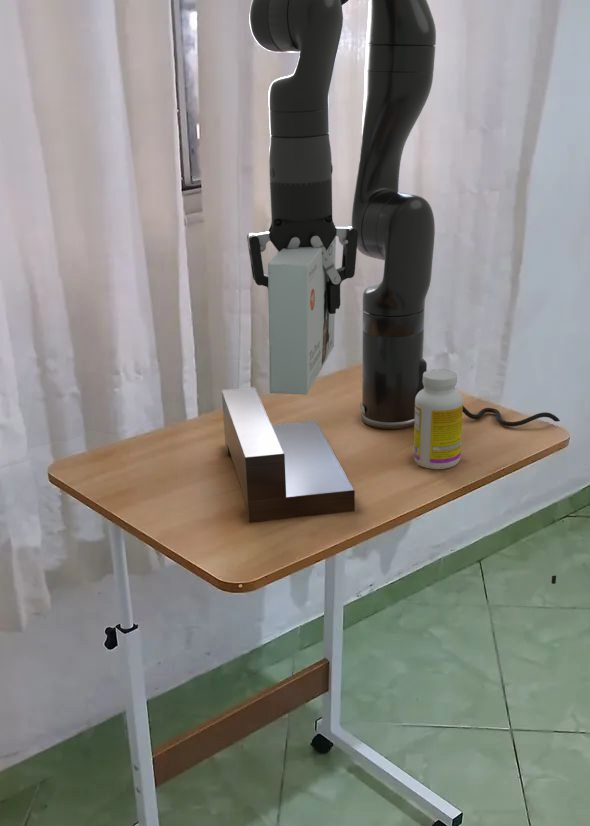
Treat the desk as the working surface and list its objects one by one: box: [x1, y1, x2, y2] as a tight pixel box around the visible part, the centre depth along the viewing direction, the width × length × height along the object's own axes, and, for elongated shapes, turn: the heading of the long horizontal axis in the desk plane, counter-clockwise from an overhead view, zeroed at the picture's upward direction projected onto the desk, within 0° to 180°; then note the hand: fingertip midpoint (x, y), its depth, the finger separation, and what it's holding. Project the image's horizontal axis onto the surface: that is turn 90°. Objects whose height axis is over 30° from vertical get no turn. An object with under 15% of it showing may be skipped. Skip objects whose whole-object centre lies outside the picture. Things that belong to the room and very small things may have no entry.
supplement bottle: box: [413, 368, 464, 470], centre depth 144 cm, size 7×7×13 cm
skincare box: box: [267, 236, 337, 396], centre depth 133 cm, size 21×5×16 cm, turn 169°
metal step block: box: [220, 386, 356, 523], centre depth 142 cm, size 14×26×9 cm, turn 10°
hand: (304, 314), depth 133 cm, fingers closed on skincare box, 6 cm apart
